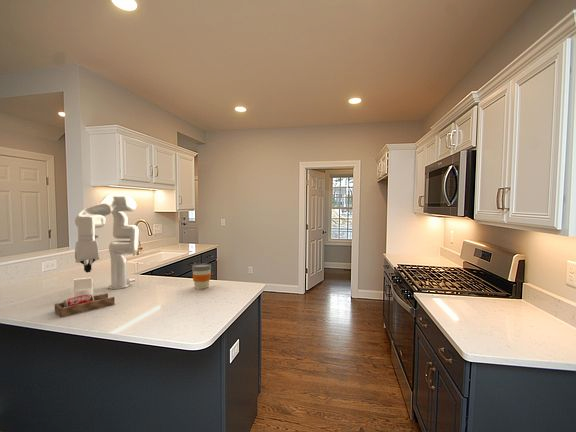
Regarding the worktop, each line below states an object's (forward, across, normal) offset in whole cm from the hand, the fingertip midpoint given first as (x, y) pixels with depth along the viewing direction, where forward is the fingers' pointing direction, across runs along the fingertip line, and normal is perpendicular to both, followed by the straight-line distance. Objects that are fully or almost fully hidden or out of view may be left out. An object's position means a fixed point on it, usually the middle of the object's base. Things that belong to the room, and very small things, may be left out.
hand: (87, 271), depth 151 cm
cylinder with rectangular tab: (+20, -2, -19) cm, 28 cm away
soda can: (+16, -2, 0) cm, 16 cm away
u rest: (+19, +2, +1) cm, 19 cm away
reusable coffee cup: (+20, -61, +14) cm, 66 cm away
